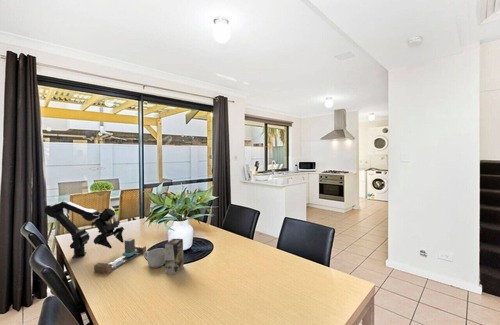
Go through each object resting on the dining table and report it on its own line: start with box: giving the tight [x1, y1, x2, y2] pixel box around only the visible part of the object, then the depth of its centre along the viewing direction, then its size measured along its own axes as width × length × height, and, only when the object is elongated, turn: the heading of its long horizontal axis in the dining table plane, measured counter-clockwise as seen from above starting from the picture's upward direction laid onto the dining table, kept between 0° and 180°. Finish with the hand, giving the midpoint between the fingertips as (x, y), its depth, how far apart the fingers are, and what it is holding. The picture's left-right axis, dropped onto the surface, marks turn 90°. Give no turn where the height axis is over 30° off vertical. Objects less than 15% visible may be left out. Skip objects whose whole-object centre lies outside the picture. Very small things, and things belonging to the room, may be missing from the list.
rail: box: [93, 244, 147, 275], centre depth 144 cm, size 30×9×4 cm, turn 164°
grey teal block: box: [121, 238, 137, 257], centre depth 150 cm, size 7×5×9 cm
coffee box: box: [164, 238, 184, 275], centre depth 132 cm, size 9×6×16 cm
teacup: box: [143, 247, 165, 269], centre depth 139 cm, size 14×11×8 cm
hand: (117, 245), depth 150 cm, fingers open, 9 cm apart
